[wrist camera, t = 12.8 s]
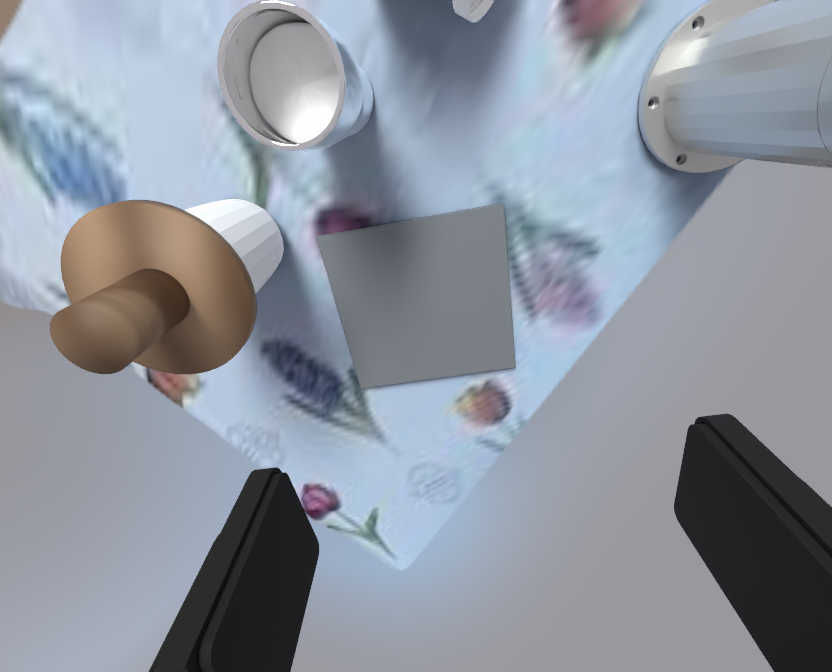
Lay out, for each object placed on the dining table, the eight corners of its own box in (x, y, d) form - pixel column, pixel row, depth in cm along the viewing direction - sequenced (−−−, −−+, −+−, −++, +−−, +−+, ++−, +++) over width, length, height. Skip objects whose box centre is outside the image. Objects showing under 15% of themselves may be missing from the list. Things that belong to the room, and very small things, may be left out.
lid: (212, 182, 24) (137, 203, 17) (281, 354, 29) (242, 415, 23) (33, 219, 25) (-96, 251, 19) (132, 377, 30) (57, 442, 24)
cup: (187, 209, 38) (71, 250, 26) (265, 180, 37) (183, 209, 24) (232, 288, 42) (150, 358, 29) (304, 265, 41) (251, 327, 28)
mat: (502, 203, 37) (503, 204, 37) (514, 363, 46) (515, 367, 45) (318, 235, 39) (316, 237, 38) (361, 384, 47) (360, 388, 47)
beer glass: (372, 151, 36) (341, 167, 22) (293, 133, 35) (214, 139, 22) (385, 58, 32) (358, 13, 19) (299, 37, 32) (209, -24, 19)
